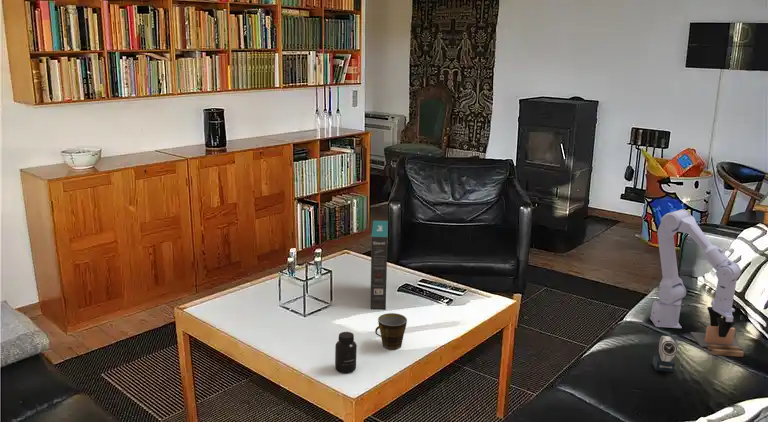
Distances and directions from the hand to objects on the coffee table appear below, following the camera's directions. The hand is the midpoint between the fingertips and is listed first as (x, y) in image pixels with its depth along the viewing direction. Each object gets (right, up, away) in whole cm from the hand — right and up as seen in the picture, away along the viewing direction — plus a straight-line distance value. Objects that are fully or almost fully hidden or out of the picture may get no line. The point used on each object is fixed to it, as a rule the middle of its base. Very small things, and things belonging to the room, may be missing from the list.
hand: (718, 331), depth 225 cm
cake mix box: (-122, +7, +33) cm, 126 cm away
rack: (-1, -6, -7) cm, 9 cm away
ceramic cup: (-118, -4, -8) cm, 118 cm away
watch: (-28, -9, -18) cm, 34 cm away
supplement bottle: (-132, -8, -23) cm, 134 cm away
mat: (0, -4, +2) cm, 4 cm away
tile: (0, -4, 0) cm, 4 cm away
